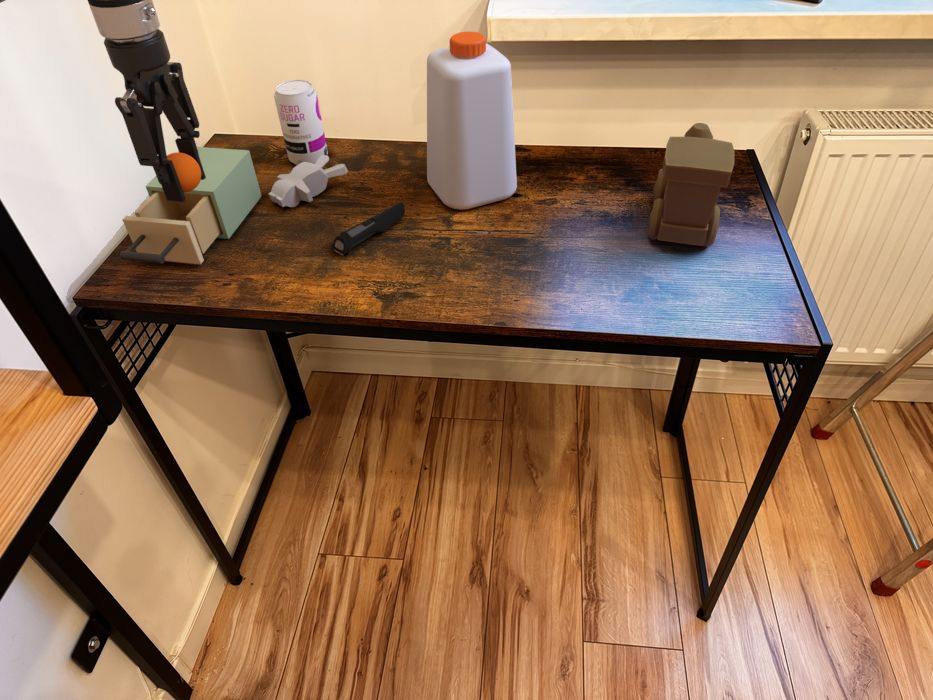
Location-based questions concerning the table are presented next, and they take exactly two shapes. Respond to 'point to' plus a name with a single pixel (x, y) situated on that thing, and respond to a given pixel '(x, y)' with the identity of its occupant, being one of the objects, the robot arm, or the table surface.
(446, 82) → the plastic bottle
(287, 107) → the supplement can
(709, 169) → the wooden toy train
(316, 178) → the bunny figurine
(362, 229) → the electric trimmer
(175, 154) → the ball
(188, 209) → the drawer
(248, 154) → the cabinet
